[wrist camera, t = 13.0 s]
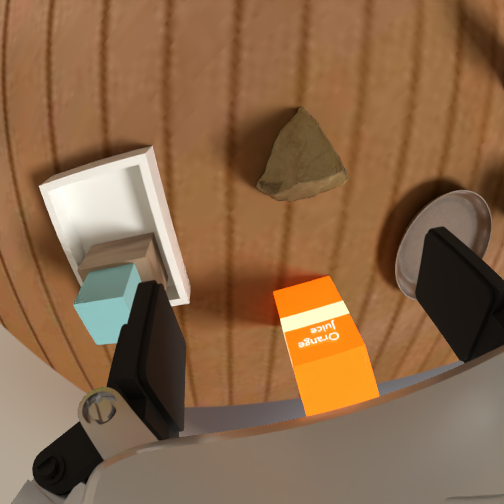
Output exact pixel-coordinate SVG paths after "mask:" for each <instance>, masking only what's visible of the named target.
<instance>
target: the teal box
mask: <svg viewBox="0 0 504 504" xmlns="http://www.w3.org/2000/svg"><path fill="white" fill-rule="evenodd" d="M140 282H142V281H141V279H140V276H139V274H138V271H137V269H136V266H135V264H134V263H132V264H127V265H122V266H117V267H111V268H106V269H101V270H96V271H91V272H89V273H88V275H87V277H86V279H85V281H84V283H83V285H82V287H81V289H80V291H79V293H78V295H77V297H76V299H75V301H74V304H73V305H74V307H75V309H76V311H77V313H78V314H79V316H80V318H81V320H82V321H83V323H84V325H85V326H86V328H87V330H88V331H89V333H90V335H91V336H92V338H93V340H94V341H95V343H96V344H97V345H101V344H111V343H117V341H118V337H119V333H120V330H121V327H122V325H124V324H127V322H128V318H129V314H130V311H131V307H132V303H133V300H134V296H135V293H136V289H137V286H138V283H140Z"/></svg>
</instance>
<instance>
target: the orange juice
mask: <svg viewBox="0 0 504 504" xmlns="http://www.w3.org/2000/svg"><path fill="white" fill-rule="evenodd" d="M273 294H274V298H275V301H276V305H277V309H278V313H279V316H280V321H281V324H282V328H283V332H284V336H285V340H286V343H287V347H288V351H289V355H290V359H291V362H292V366H293V369H294V372H295V376H296V380H297V384H298V388H299V391H300V395H301V399H302V401H303V404H304V408H305V412H306V415H307V416H311V415H315V414H319V413H324V412H327V411H331V410H335V409H339V408H342V407H346V406H350V405H353V404H357V403H360V402H363V401H367V400H370V399H373V398H376V397H379V393H378V390H377V385H376V382H375V378H374V375H373V371H372V367H371V364H370V360H369V357H368V354H367V350H366V346H365V344H364V342H363V340H362V338H361V336H360V334H359V332H358V330H357V328H356V326H355V324H354V322H353V320H352V318H351V316H350V314H349V312H348V310H347V308H346V306H345V304H344V302H343V301H342V299H341V297H340V295H339V293H338V291H337V289H336V287H335V286H334V284H333V282H332V280H331V278H330V276H326V277H323V278H319V279H316V280H312V281H309V282H305V283H302V284H298V285H295V286H291V287H288V288H284V289H280V290H277V291H273Z"/></svg>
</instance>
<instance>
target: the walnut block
mask: <svg viewBox="0 0 504 504" xmlns="http://www.w3.org/2000/svg"><path fill="white" fill-rule="evenodd" d="M132 263H134V264H135V266H136V269H137V271H138V274H139V276H140V279H141V281H142V282H145V281H151V280H156V281H157V283H158V284H159V283H162V284H163V286H164V288H165V291H166V288H167V282H168V275H167V272H166V269H165V266H164V263H163V260H162V257H161V254H160V251H159V248H158V245H157V242H156V239H155V235H154V232H151V233H146V234H142V235H137V236H132V237H127V238H123V239H118V240H114V241H109V242H105V243H100V244H96V245H92V246H91V248H90V249H89V251H88V253H87V254H86V256H85V258H84V260H83V261H82V263H81V265H80V266H79V268H78V270H77V271H78V273H79V275H80V277H81V279H82V282H83V283H84V281H85V279H86V277H87V275H88V273H89V272H91V271H96V270H101V269H106V268H111V267H117V266H122V265H127V264H132Z"/></svg>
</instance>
